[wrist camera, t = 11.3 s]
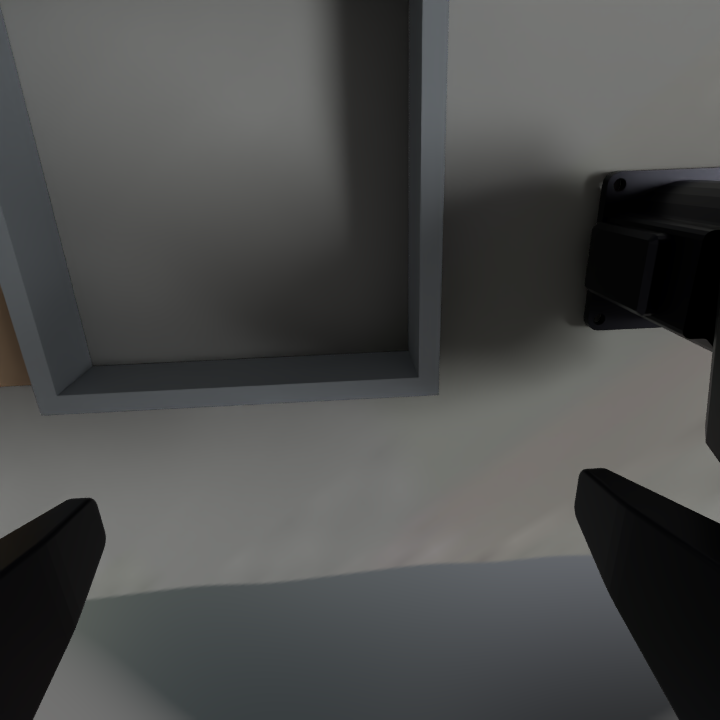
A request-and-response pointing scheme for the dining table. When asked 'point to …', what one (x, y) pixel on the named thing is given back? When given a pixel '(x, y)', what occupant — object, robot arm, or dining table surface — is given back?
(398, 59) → the dining table surface
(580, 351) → the dining table surface
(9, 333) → the board
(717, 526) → the robot arm
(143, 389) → the equipment case
